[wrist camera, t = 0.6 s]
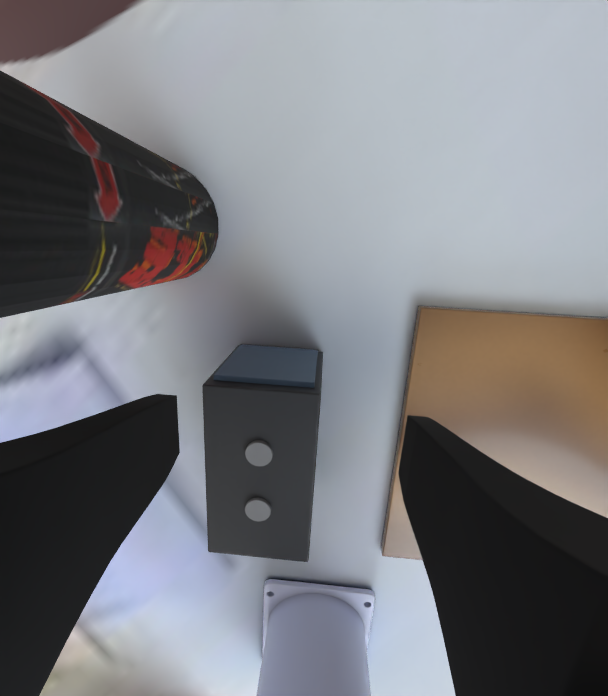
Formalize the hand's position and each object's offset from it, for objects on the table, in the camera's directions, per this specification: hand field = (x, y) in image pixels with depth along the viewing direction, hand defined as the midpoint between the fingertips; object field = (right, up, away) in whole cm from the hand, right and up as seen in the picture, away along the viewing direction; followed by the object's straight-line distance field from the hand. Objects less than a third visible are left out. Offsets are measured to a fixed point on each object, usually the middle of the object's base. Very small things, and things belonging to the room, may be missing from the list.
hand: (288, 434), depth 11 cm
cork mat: (+15, -4, +10) cm, 19 cm away
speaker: (-1, -2, +11) cm, 11 cm away
